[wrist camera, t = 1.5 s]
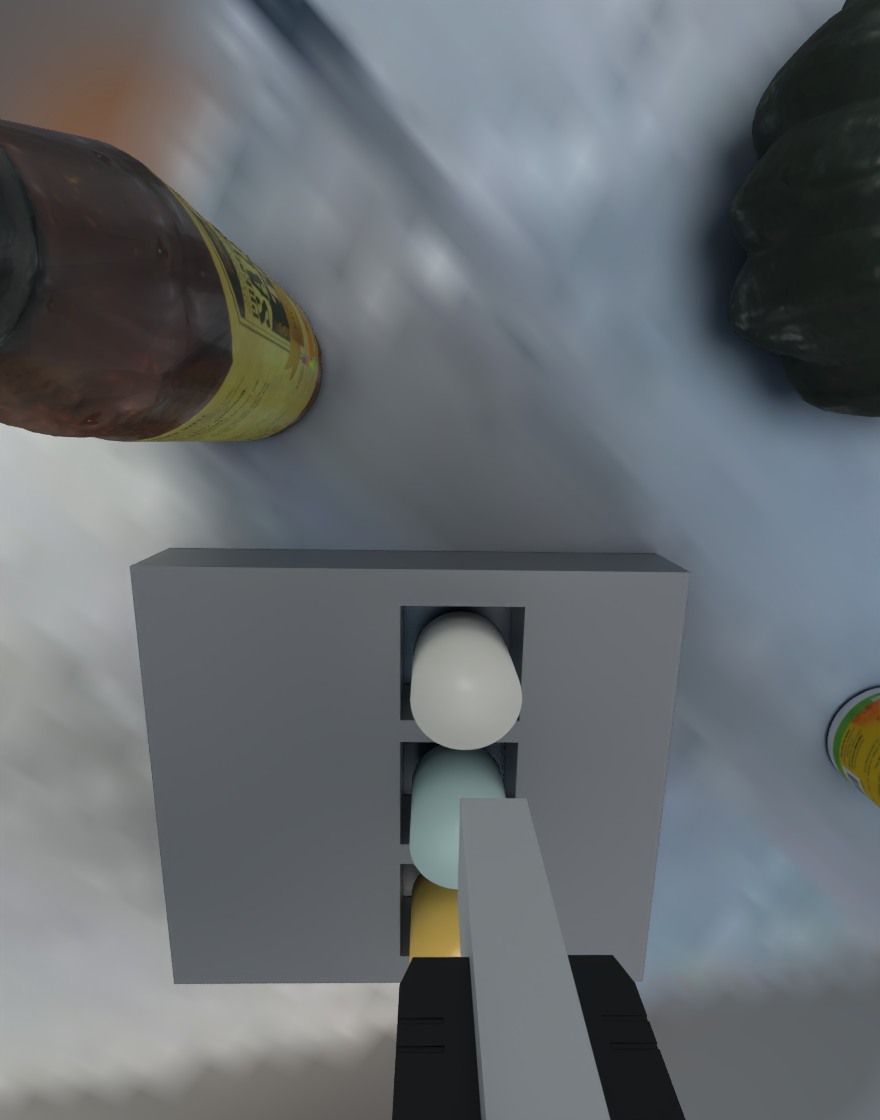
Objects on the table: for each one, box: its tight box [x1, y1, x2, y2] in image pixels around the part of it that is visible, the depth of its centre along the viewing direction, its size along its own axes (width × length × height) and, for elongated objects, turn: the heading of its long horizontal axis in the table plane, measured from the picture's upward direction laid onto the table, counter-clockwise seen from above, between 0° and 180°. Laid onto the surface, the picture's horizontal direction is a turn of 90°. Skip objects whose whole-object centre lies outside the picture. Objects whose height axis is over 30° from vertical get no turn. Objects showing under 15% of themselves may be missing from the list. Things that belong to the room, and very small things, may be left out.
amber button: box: [409, 874, 461, 964], centre depth 25 cm, size 4×4×4 cm
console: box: [130, 548, 690, 984], centre depth 27 cm, size 22×20×4 cm
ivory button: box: [410, 611, 522, 750], centre depth 23 cm, size 4×4×4 cm
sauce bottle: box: [0, 119, 322, 442], centre depth 14 cm, size 7×6×20 cm
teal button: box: [410, 745, 506, 889], centre depth 24 cm, size 4×4×4 cm
